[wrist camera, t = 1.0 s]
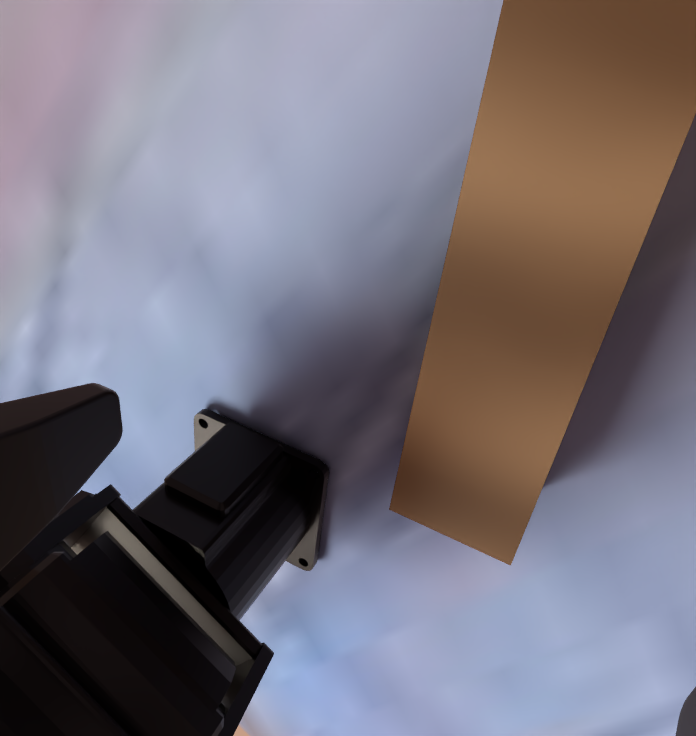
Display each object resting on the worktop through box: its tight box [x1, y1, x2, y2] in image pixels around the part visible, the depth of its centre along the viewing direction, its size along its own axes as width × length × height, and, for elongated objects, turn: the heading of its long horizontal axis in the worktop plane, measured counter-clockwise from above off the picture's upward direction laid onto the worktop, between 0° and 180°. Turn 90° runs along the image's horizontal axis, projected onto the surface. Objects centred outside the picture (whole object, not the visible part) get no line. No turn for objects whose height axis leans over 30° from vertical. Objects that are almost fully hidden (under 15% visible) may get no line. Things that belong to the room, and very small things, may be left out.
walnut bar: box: [389, 0, 696, 565], centre depth 17 cm, size 16×4×4 cm, turn 172°
